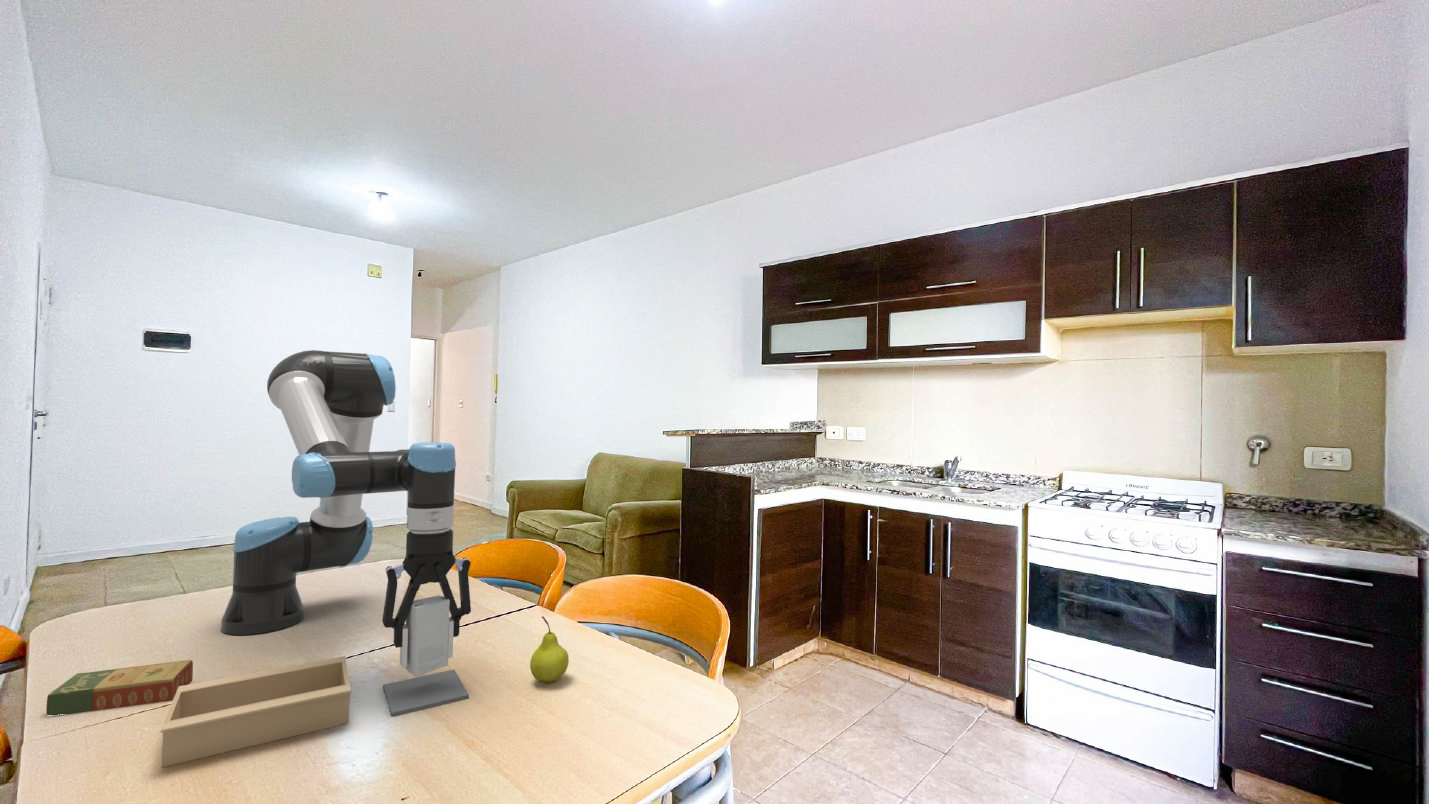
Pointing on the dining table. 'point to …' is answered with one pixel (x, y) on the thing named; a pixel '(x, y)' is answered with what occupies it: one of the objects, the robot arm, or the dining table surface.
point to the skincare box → (427, 634)
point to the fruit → (549, 659)
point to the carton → (119, 688)
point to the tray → (255, 709)
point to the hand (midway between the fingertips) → (426, 659)
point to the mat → (424, 692)
